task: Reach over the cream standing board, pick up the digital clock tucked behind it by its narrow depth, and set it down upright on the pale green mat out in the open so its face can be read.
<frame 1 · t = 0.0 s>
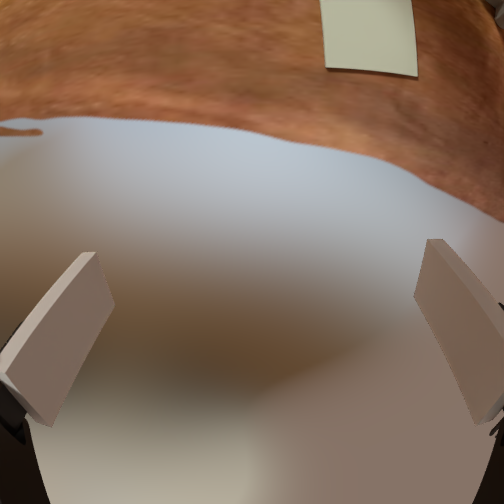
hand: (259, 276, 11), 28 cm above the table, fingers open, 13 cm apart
mat: (367, 2, 25), on the table
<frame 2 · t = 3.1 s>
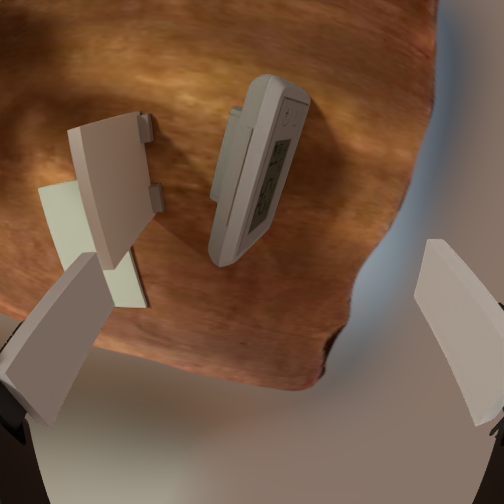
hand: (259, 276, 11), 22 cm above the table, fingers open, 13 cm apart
mat: (91, 247, 37), on the table
digital clock: (263, 155, 31), on the table
screen: (142, 164, 31), on the table
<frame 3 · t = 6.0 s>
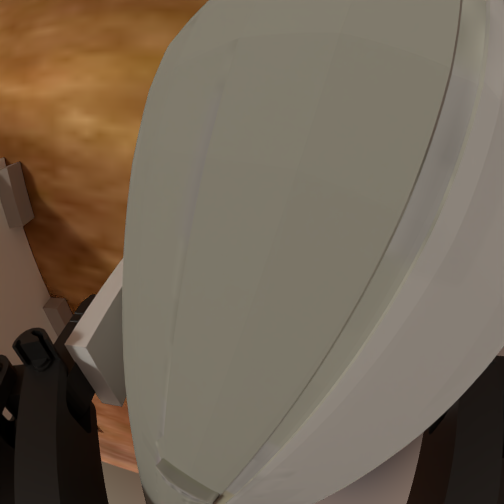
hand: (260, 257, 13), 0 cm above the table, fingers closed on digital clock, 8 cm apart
digital clock: (273, 264, 13), on the table, touching gripper
screen: (28, 261, 14), on the table
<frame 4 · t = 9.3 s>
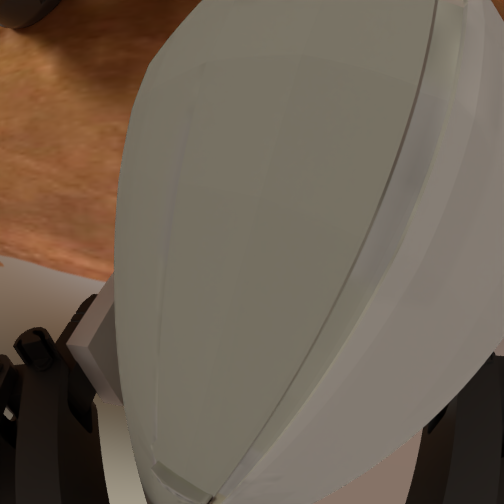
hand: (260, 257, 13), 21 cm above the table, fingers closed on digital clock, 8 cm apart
digital clock: (272, 266, 13), point 20 cm above the table, touching gripper
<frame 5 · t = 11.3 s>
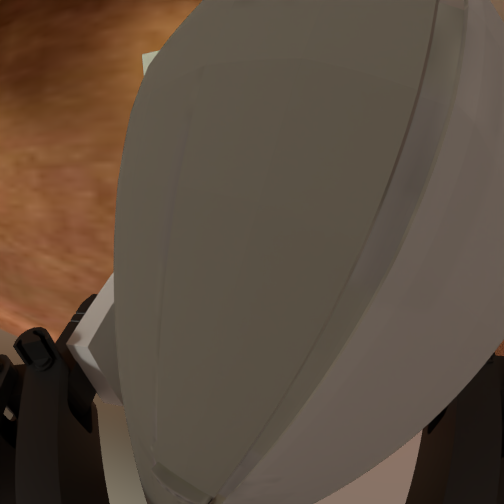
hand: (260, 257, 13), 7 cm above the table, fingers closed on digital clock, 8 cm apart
digital clock: (272, 266, 13), point 6 cm above the table, touching gripper
when the fingers open (3 cm above the table, at t = 12.9 s): digital clock drops 2 cm, resting on mat.
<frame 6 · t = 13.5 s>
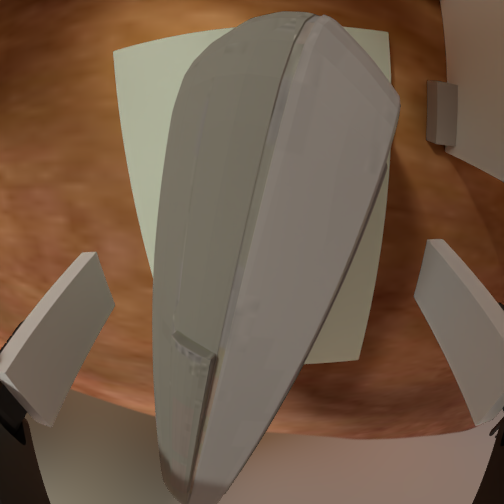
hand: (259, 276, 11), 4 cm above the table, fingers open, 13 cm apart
mat: (261, 228, 15), on the table
digital clock: (271, 244, 15), resting on mat
screen: (454, 40, 9), on the table
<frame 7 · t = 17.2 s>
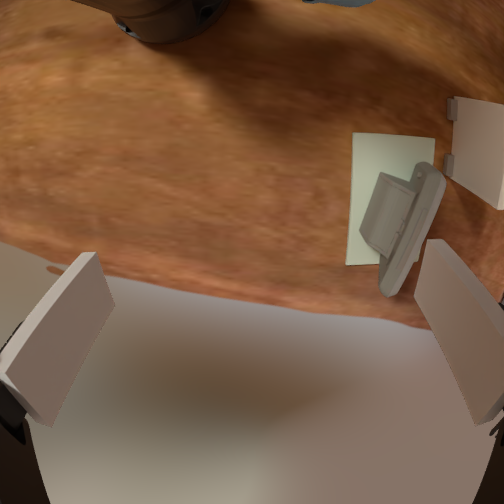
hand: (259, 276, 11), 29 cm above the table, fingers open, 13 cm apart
mat: (390, 202, 39), on the table
digital clock: (393, 208, 39), resting on mat
screen: (455, 137, 33), on the table
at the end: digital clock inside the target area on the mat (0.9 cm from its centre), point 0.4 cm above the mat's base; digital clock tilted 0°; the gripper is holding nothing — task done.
